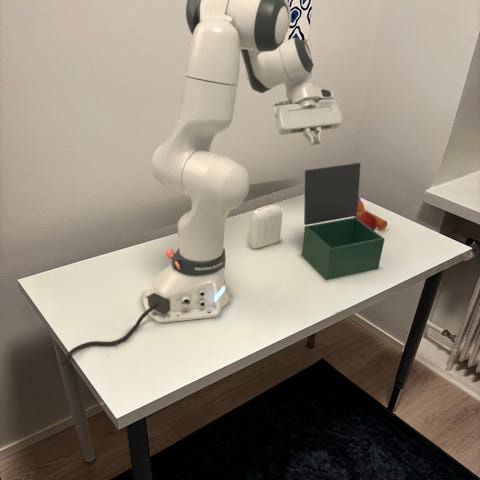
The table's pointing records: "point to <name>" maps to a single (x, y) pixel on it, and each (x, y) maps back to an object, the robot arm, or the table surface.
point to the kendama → (380, 222)
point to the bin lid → (331, 193)
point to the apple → (367, 219)
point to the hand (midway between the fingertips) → (315, 144)
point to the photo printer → (265, 226)
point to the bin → (342, 248)
